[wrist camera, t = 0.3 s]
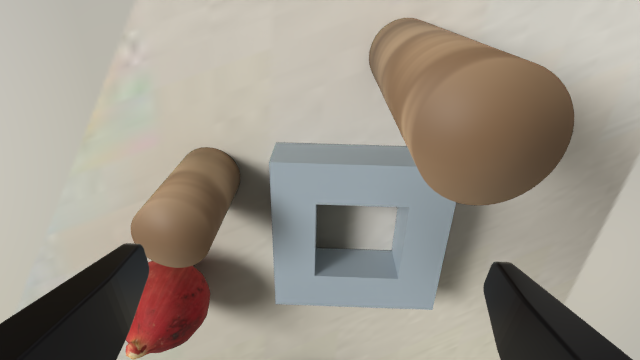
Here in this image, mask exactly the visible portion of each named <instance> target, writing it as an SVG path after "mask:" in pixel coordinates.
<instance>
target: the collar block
mask: <svg viewBox="0 0 640 360" xmlns="http://www.w3.org/2000/svg"><path fill="white" fill-rule="evenodd" d="M269 170H270V192H271V213H272V235H273V256H274V278H275V300H276V304H289V305H316V306H344V307H371V308H398V309H426V310H432V309H433V305H434V300H435V296H436V291H437V287H438V282H439V278H440V273H441V269H442V264H443V259H444V255H445V250H446V246H447V241H448V237H449V232H450V228H451V223H452V219H453V214H454V210H455V205H456V202H454V201H451V200H449V199H447V198H445V197H443V196H441V195H439V194H438V193H436V192H435V191H434V190H433V189H432V188H431V187H430V186H428V184H427V183H426V182H425V181H424V179H423V178H422V176H421V174H420V172H419V170H418V168H417V166H416V164H415V162H414V160H413V158H412V156H411V154H410V151H409V149H408V147H407V146H375V145H342V144H308V143H276V144H275V147H274V150H273V153H272V156H271V158H270V161H269ZM317 204H319V205H350V206H381V207H398V210H397V217H396V224H395V231H394V239H393V246H392V251H388V250H358V249H329V248H316V232H317Z"/></svg>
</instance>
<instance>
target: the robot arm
mask: <svg viewBox="0 0 640 360" xmlns="http://www.w3.org/2000/svg"><path fill="white" fill-rule="evenodd" d="M148 276H149V264H148V261H147V257H146V254H145V251H144V248H143V246H142V245H141V244H131V243H126V244H123V245H121V246H120V247H118V248H117V249H115V250H114V251H112V252H110V253H109V254H107V255H106V256H104V257H103V258H101V259H100V260H98V261H97V262H95V263H93V264H92V265H90V266H89V267H87V268H86V269H84V270H83V271H81V272H80V273H78V274H76V275H75V276H73V277H72V278H70V279H69V280H67V281H66V282H64V283H63V284H61V285H59V286H58V287H56V288H55V289H53V290H52V291H50V292H49V293H47V294H45V295H44V296H42V297H41V298H39V299H38V300H36V301H35V302H33V303H32V304H30V305H28V306H27V307H25V308H24V309H22V310H21V311H19V312H18V313H16V314H15V315H13V316H11V317H10V318H8V319H7V320H5V321H4V322H2V323H1V324H0V360H116V359H117V357H118V355H119V353H120V351H121V348H122V346H123V344H124V342H125V340H126V338H127V335H128V333H129V331H130V328H131V325H132V323H133V320H134V317H135V314H136V311H137V308H138V305H139V302H140V299H141V296H142V293H143V290H144V288H145V285H146V282H147V279H148ZM484 295H485V299H486V304H487V308H488V312H489V317H490V321H491V325H492V329H493V334H494V338H495V342H496V346H497V350H498V353H499V356H500V359H501V360H633V359H631V358H630V357H629V356H628V355H626V354H625V353H624V352H622V351H621V350H620V349H619V348H617V347H616V346H615V345H614V344H612V343H611V342H610V341H609V340H607V339H606V338H605V337H604V336H602V335H601V334H600V333H599V332H597V331H596V330H595V329H594V328H592V327H591V326H590V325H588V324H587V323H586V322H585V321H583V320H582V319H581V318H579V317H578V316H577V315H576V314H575V313H573V312H572V311H571V310H570V309H569V308H567V307H566V306H565V305H564V304H562V303H561V302H560V301H558V300H557V299H556V298H555V297H553V296H552V295H551V294H550V293H548V292H547V291H546V290H545V289H543V288H542V287H541V286H540V285H538V284H537V283H536V282H535V281H533V280H532V279H531V278H530V277H528V276H527V275H526V274H525V273H523V272H522V271H521V270H520V269H518V268H517V267H516V266H515V265H513V264H512V263H509V262H494V263H493V264H492V265H491V268H490V270H489V273H488V275H487V278H486V280H485V283H484Z"/></svg>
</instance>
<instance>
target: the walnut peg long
mask: <svg viewBox="0 0 640 360" xmlns="http://www.w3.org/2000/svg"><path fill="white" fill-rule="evenodd" d="M369 63H370V68H371V71H372V73H373V75H374V78H375V80H376V82H377V84H378V86H379V88H380V90H381V92H382V94H383V97H384V99H385V101H386V103H387V105H388V107H389V109H390V111H391V113H392V116H393V118H394V120H395V122H396V124H397V126H398V128H399V130H400V132H401V135H402V137H403V139H404V141H405V143H406V145H407V147H408V149H409V151H410V154H411V156H412V158H413V160H414V162H415V164H416V166H417V168H418V170H419V172H420V174H421V176H422V178H423V179H424V181H425V182H426V183H427V184H428V186H430V187H431V188H432V189H433V190H434V191H435V192H436V193H438V194H439V195H441V196H443V197H445V198H447V199H449V200H451V201H454V202H457V203H461V204H466V205H489V204H496V203H500V202H504V201H507V200H510V199H513V198H515V197H517V196H519V195H522V194H523V193H525V192H527V191H529V190H530V189H532V188H533V187H535V186H536V185H537V184H539V183H540V182H541V181H542V180H543V179H545V178H546V177H547V176H548V175H549V174H550V173H551V172H552V170H553V169H554V168H555V167H556V166H557V164H558V163H559V162H560V160H561V159H562V157H563V155H564V153H565V152H566V150H567V147H568V145H569V143H570V139H571V136H572V132H573V126H574V110H573V104H572V100H571V97H570V95H569V93H568V91H567V89H566V87H565V85H564V84H563V83H562V82H561V80H560V79H559V78H558V77H557V76H556V75H555V74H553V73H552V72H551V71H549V70H548V69H546V68H544V67H543V66H540V65H538V64H536V63H533V62H530V61H528V60H525V59H522V58H520V57H517V56H514V55H512V54H509V53H506V52H504V51H501V50H498V49H496V48H493V47H490V46H488V45H485V44H482V43H480V42H477V41H474V40H472V39H469V38H466V37H464V36H461V35H458V34H456V33H453V32H450V31H448V30H445V29H442V28H440V27H437V26H434V25H432V24H429V23H426V22H424V21H421V20H418V19H414V18H402V19H398V20H395V21H393V22H391V23H389V24H387V25H386V26H385V27H384V28H382V29H381V30H380V31H379V33H378V34H377V35H376V37H375V39H374V40H373V43H372V45H371V48H370V53H369Z"/></svg>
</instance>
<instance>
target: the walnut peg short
mask: <svg viewBox="0 0 640 360" xmlns="http://www.w3.org/2000/svg"><path fill="white" fill-rule="evenodd" d="M239 184H240V172H239V168H238V166H237V165H236V163H235V162H234V160H233V159H232V158H231V157H230V156H229V155H227V154H226V153H224V152H222V151H220V150H218V149H214V148H208V147H206V148H198V149H195V150H193V151H191V152H190V153H189V154H188V155H186V157H185V158H184V159H183V160H182V161H181V162H180V164H179V165H178V166H177V167H176V168H175V169H174V171H173V172H172V173H171V174H170V175H169V176H168V178H167V179H166V180H165V181H164V182H163V183H162V185H161V186H160V187H159V188H158V189H157V190H156V192H155V193H154V194H153V195H152V196H151V197H150V199H149V200H148V201H147V202H146V203H145V204H144V206H143V207H142V208H141V209H140V210H139V211H138V213H137V214H136V215H135V216H134V218H133V220H132V223H131V235H132V238H133V241H134V243H135V244H141V245H142V246H143V248H144V251H145V254H146V257H148V258H149V259H151V260H152V261H154V262H156V263H158V264H161V265H164V266H167V267H173V268H184V267H189V266H193V265H195V264H197V263H199V262H200V261H202V260H203V259H204V258H205V257H206V255H207V254H208V251H209V249H210V247H211V245H212V243H213V241H214V239H215V236H216V234H217V232H218V230H219V228H220V226H221V224H222V221H223V219H224V217H225V215H226V213H227V211H228V208H229V206H230V204H231V202H232V200H233V198H234V196H235V193H236V191H237V189H238V187H239Z"/></svg>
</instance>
